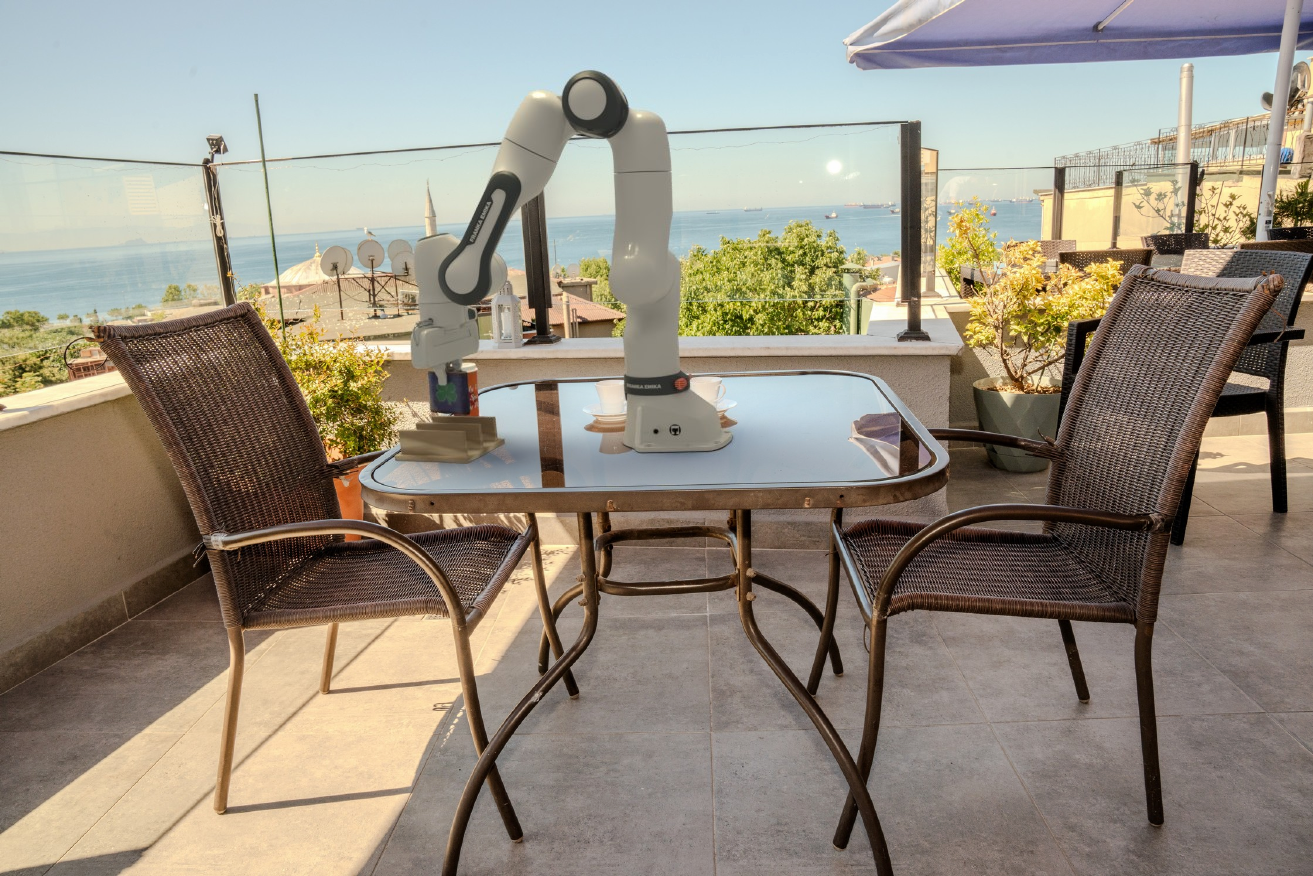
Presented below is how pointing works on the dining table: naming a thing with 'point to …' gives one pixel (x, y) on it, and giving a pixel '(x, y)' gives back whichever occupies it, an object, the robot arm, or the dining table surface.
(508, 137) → the robot arm
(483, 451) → the rack
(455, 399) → the flask
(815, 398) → the dining table surface
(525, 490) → the dining table surface
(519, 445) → the dining table surface
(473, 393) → the paper cup
